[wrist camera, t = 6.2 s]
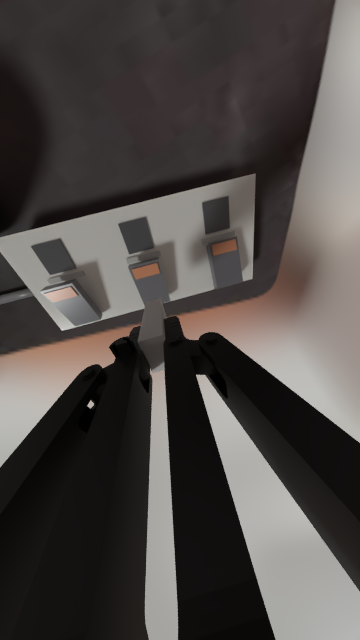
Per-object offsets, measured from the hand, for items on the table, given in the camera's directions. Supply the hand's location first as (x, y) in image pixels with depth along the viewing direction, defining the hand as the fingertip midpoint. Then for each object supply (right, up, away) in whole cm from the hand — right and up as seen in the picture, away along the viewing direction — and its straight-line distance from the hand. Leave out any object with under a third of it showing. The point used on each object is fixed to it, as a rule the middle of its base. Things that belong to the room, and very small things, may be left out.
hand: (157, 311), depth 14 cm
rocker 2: (-1, +4, +4) cm, 5 cm away
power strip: (-7, +7, +7) cm, 12 cm away
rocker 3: (+8, +6, +4) cm, 11 cm away
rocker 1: (-11, +1, +3) cm, 12 cm away
